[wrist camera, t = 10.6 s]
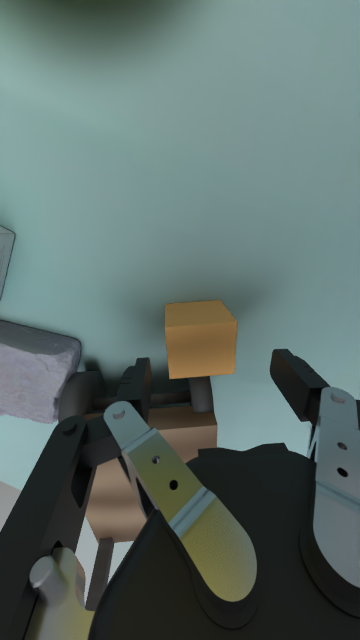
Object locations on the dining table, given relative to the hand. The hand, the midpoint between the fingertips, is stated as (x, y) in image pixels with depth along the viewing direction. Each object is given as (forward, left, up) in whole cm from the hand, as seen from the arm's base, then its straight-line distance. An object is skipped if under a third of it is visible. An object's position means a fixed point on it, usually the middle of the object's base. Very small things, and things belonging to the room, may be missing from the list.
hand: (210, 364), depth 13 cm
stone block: (+18, +3, -7) cm, 19 cm away
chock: (0, 0, -7) cm, 7 cm away
